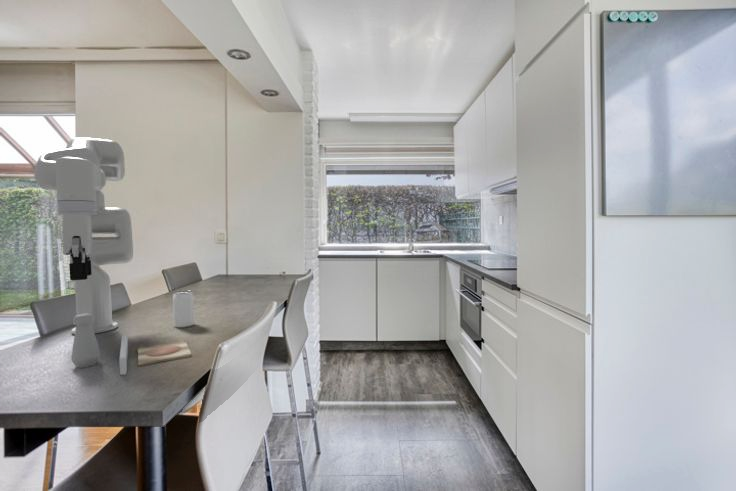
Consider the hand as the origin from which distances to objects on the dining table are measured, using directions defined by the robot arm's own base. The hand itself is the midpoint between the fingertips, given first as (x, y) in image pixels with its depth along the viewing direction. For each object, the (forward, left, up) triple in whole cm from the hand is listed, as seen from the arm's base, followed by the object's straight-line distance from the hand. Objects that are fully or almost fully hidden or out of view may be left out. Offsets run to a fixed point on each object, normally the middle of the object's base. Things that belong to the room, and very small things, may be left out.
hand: (81, 277), depth 89 cm
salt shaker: (0, 0, -23) cm, 23 cm away
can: (-26, +25, -23) cm, 43 cm away
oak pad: (+2, +17, -22) cm, 28 cm away
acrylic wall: (+2, +8, -22) cm, 24 cm away
